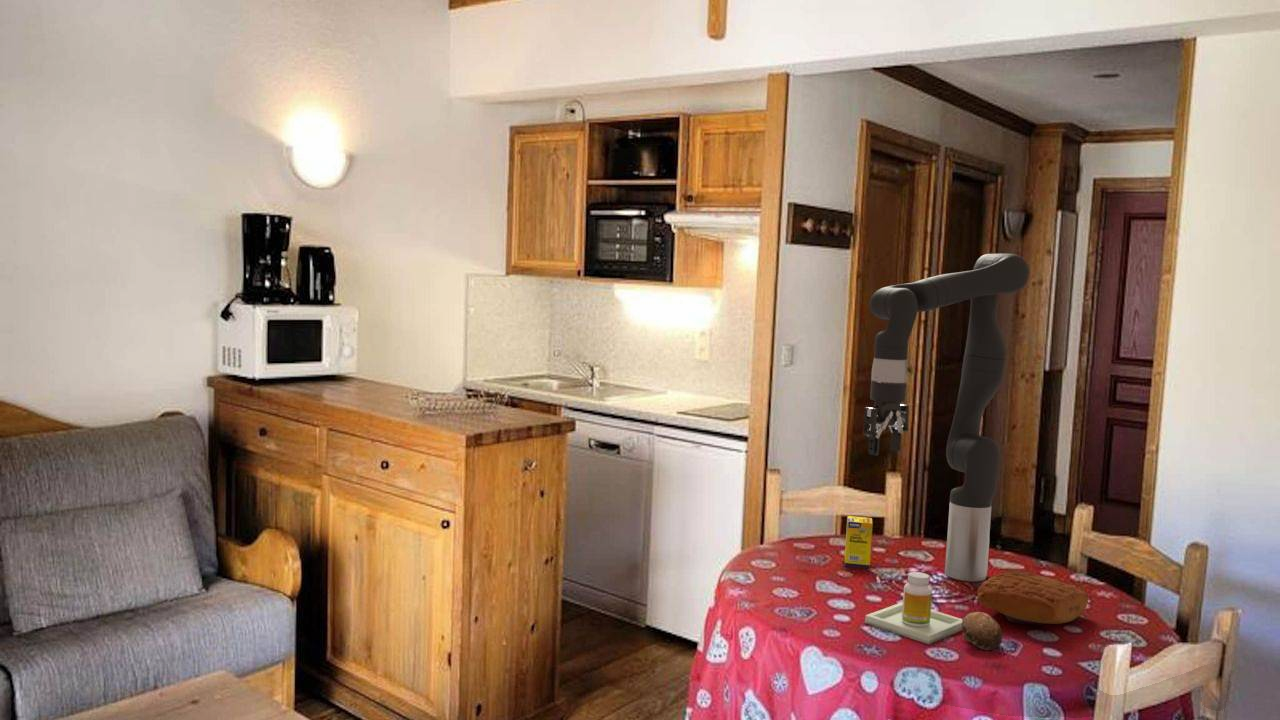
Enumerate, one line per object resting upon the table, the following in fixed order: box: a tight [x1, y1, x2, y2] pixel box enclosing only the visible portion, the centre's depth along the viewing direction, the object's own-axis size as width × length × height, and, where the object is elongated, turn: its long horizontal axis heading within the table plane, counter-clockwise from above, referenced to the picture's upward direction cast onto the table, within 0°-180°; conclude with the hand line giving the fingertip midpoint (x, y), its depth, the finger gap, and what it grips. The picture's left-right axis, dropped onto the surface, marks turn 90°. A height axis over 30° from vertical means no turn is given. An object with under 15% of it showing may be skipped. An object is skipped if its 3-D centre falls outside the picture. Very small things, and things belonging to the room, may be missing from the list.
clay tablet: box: [976, 570, 1089, 625], centre depth 201 cm, size 22×17×8 cm
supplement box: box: [844, 515, 874, 569], centre depth 235 cm, size 6×6×11 cm
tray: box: [864, 601, 964, 645], centre depth 194 cm, size 14×14×2 cm
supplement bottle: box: [902, 571, 933, 627], centre depth 194 cm, size 5×5×10 cm
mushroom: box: [961, 611, 1003, 651], centre depth 185 cm, size 8×8×6 cm
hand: (884, 453), depth 215 cm, fingers open, 8 cm apart
